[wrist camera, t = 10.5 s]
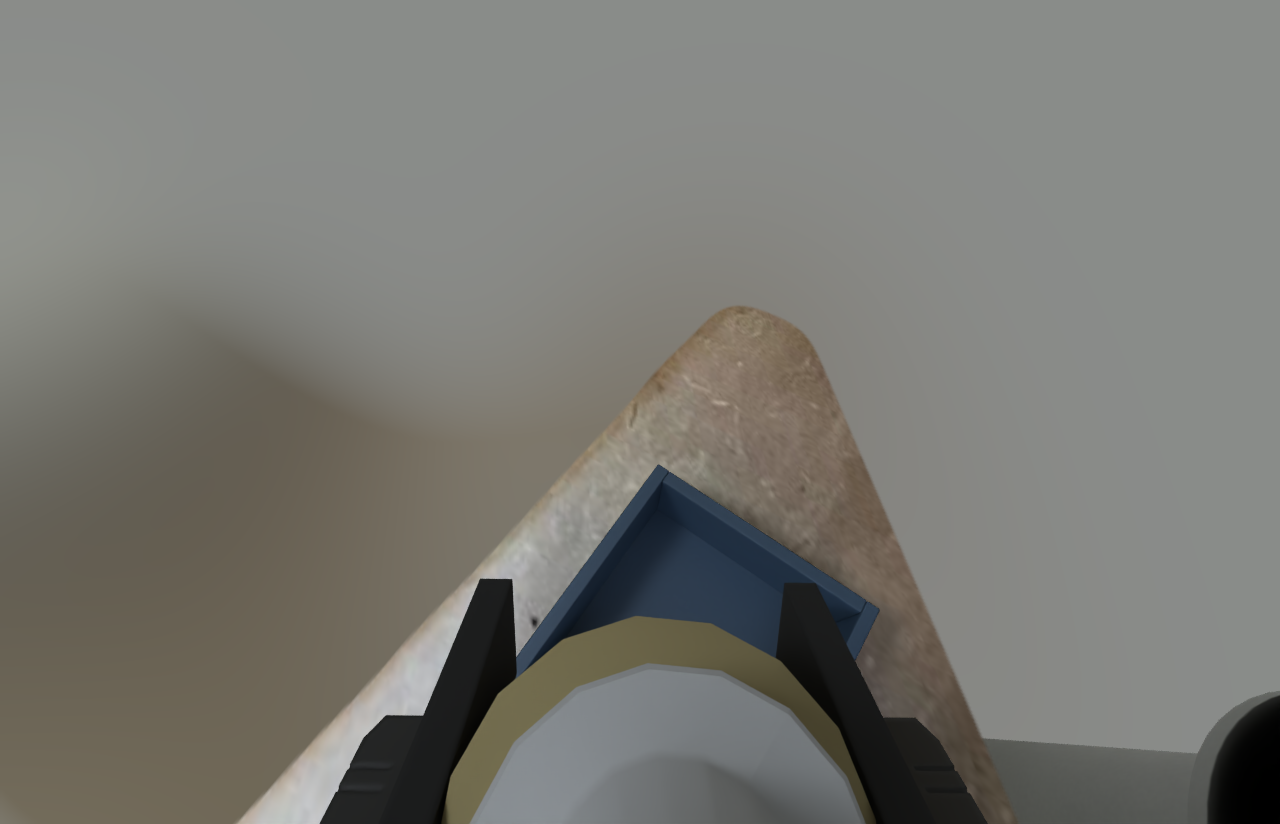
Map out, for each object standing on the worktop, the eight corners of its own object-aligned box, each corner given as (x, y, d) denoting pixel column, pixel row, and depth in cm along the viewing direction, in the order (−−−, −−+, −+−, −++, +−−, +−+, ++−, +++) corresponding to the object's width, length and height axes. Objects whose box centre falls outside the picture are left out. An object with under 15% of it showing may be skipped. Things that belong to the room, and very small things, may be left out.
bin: (843, 624, 38) (880, 609, 32) (724, 856, 32) (746, 886, 27) (653, 496, 41) (658, 463, 36) (515, 687, 36) (497, 682, 30)
